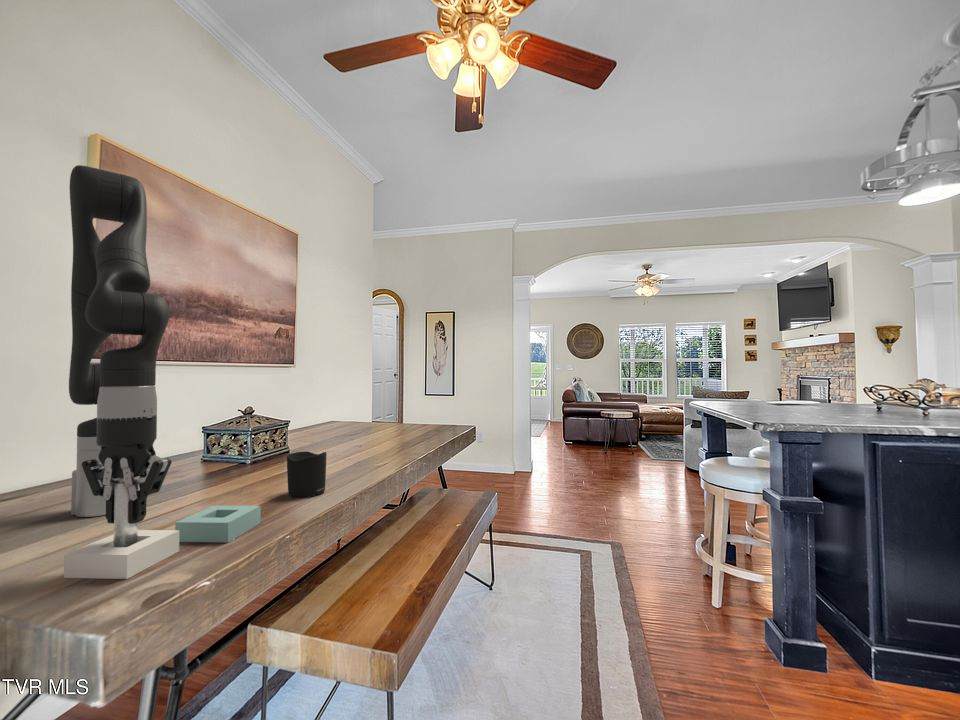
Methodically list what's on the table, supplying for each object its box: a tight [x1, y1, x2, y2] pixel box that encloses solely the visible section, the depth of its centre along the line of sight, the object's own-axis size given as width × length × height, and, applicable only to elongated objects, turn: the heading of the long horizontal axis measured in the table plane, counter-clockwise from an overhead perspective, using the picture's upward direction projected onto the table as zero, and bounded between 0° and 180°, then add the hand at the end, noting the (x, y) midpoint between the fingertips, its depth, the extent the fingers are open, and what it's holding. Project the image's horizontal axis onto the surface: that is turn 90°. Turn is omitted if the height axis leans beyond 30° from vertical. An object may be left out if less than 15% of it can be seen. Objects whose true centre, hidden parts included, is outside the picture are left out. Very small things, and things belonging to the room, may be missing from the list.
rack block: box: [174, 505, 262, 543], centre depth 82 cm, size 10×10×4 cm
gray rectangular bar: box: [113, 480, 139, 547], centre depth 69 cm, size 3×3×12 cm
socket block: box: [63, 529, 180, 580], centre depth 68 cm, size 10×10×4 cm
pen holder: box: [286, 451, 327, 499], centre depth 109 cm, size 9×9×10 cm
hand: (126, 521), depth 69 cm, fingers closed on gray rectangular bar, 3 cm apart
